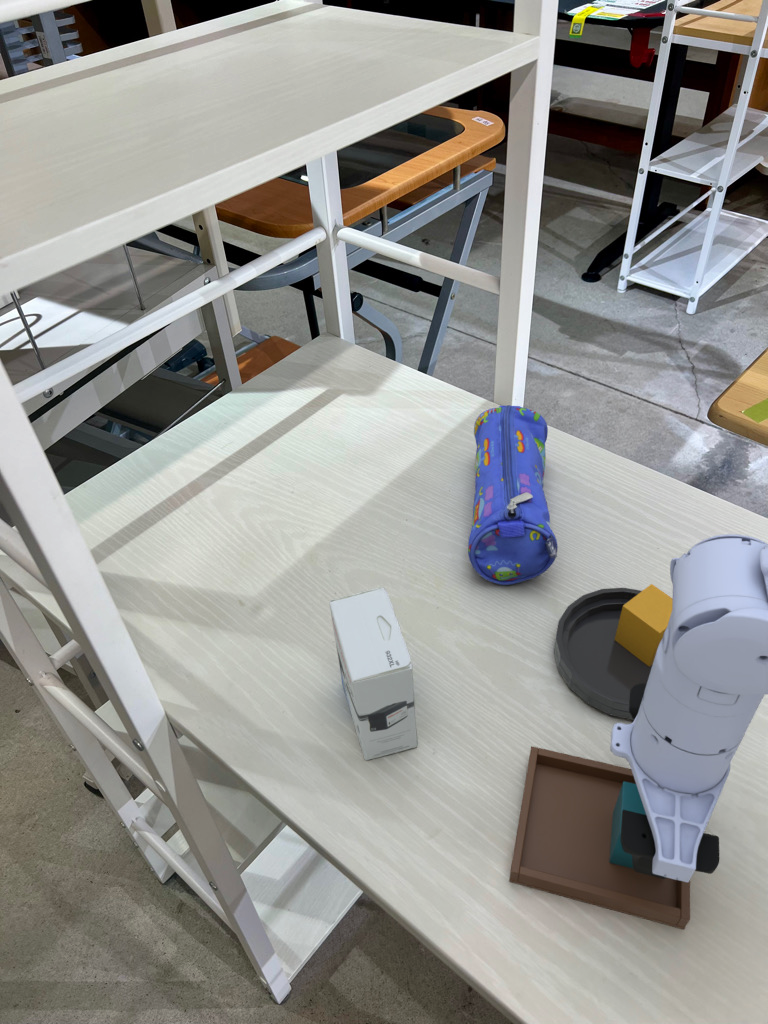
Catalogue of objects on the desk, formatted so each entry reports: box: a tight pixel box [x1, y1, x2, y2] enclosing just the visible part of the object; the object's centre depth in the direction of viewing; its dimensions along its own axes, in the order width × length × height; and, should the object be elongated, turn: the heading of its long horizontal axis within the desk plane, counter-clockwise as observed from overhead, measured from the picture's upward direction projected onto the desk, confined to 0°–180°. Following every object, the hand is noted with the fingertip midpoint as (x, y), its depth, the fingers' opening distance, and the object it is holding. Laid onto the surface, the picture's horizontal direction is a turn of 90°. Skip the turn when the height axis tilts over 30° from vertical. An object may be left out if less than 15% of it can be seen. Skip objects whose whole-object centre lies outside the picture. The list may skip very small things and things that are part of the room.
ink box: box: [328, 586, 419, 761], centre depth 62 cm, size 8×5×12 cm, turn 15°
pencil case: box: [467, 404, 558, 586], centre depth 79 cm, size 22×9×10 cm, turn 174°
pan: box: [553, 587, 653, 721], centre depth 67 cm, size 13×13×2 cm
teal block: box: [609, 781, 646, 869], centre depth 54 cm, size 4×4×5 cm
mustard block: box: [615, 583, 673, 667], centre depth 67 cm, size 4×4×5 cm
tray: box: [508, 746, 691, 930], centre depth 56 cm, size 12×10×2 cm
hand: (651, 816), depth 53 cm, fingers open, 7 cm apart
